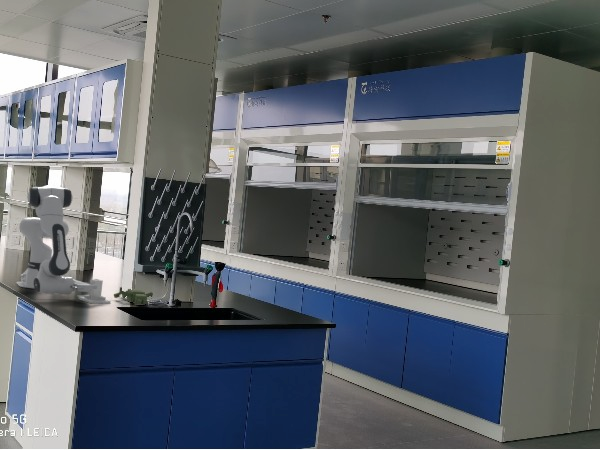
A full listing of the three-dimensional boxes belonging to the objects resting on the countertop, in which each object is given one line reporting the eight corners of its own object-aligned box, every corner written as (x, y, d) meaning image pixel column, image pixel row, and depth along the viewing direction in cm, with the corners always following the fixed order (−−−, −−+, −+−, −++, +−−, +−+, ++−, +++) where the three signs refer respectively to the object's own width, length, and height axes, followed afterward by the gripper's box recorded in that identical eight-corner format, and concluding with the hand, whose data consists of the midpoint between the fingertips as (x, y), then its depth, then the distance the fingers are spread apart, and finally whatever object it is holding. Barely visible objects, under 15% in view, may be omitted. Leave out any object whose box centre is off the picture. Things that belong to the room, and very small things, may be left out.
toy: (107, 296, 380) (121, 308, 354) (109, 283, 379) (123, 294, 353) (144, 297, 390) (160, 310, 364) (146, 285, 390) (162, 296, 364)
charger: (88, 298, 358) (90, 278, 358) (96, 298, 361) (98, 278, 361) (92, 299, 354) (94, 279, 354) (100, 299, 358) (102, 280, 357)
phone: (76, 296, 366) (76, 295, 366) (87, 296, 371) (87, 294, 371) (92, 301, 357) (92, 299, 357) (103, 300, 363) (103, 299, 363)
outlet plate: (78, 299, 359) (79, 293, 359) (97, 299, 366) (98, 294, 366) (90, 303, 349) (91, 298, 349) (110, 303, 356) (110, 298, 356)
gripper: (76, 282, 339) (102, 282, 348) (59, 276, 354) (84, 277, 363) (75, 294, 339) (100, 295, 348) (57, 288, 354) (82, 288, 363)
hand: (92, 285), depth 356 cm, fingers open, 8 cm apart
